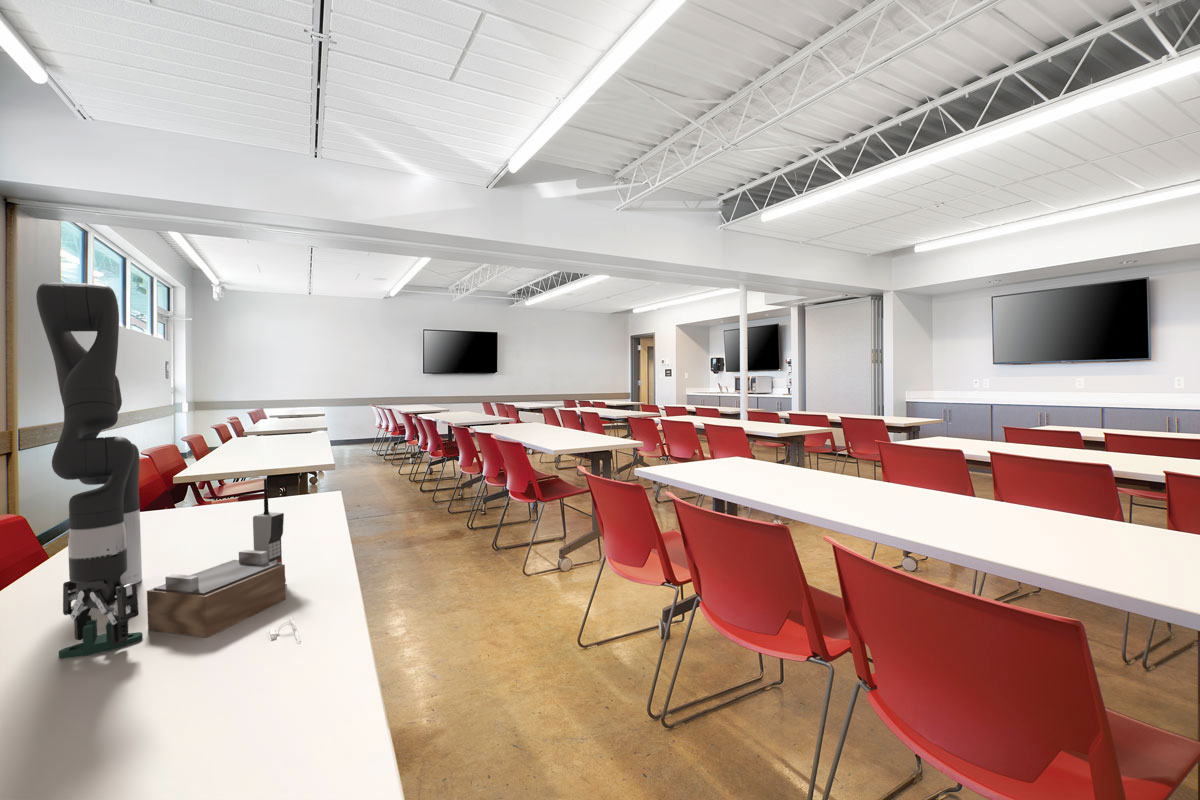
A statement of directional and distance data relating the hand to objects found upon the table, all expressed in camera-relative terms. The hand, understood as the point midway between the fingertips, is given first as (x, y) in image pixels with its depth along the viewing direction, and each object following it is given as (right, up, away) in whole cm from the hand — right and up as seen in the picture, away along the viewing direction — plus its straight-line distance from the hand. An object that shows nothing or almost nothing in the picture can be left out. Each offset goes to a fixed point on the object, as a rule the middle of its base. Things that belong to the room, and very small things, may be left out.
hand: (101, 640), depth 95 cm
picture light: (+29, -2, +5) cm, 30 cm away
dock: (+11, -1, +14) cm, 18 cm away
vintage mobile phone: (+12, -1, +29) cm, 32 cm away
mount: (0, -2, 0) cm, 2 cm away
